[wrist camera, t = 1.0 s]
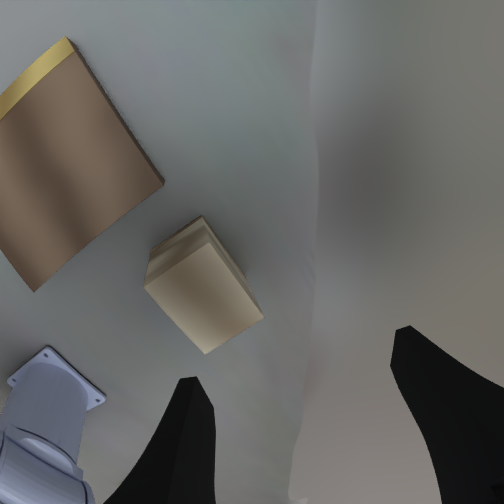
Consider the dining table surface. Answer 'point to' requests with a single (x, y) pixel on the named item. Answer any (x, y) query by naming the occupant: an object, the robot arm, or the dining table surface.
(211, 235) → the beige block
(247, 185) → the dining table surface
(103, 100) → the dock
